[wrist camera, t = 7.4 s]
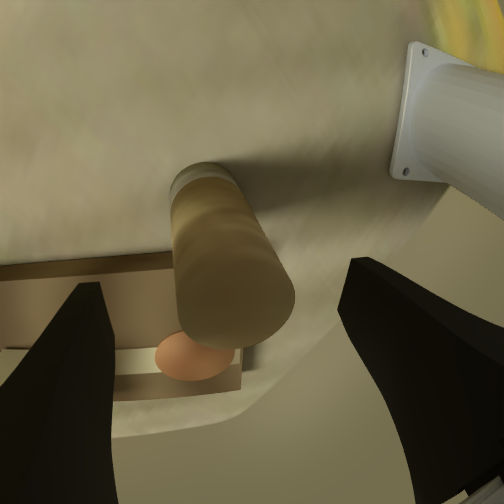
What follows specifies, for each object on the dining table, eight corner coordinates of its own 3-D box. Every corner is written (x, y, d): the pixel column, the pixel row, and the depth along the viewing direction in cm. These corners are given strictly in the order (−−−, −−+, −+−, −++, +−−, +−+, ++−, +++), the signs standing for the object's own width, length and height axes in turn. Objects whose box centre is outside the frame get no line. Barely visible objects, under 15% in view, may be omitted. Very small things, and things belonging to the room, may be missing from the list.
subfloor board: (242, 246, 17) (249, 264, 16) (236, 373, 23) (241, 391, 22) (-26, 268, 13) (-37, 285, 12) (35, 384, 19) (32, 401, 18)
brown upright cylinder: (238, 161, 15) (303, 254, 8) (235, 222, 16) (286, 341, 10) (168, 164, 14) (172, 265, 7) (171, 226, 16) (182, 355, 9)
